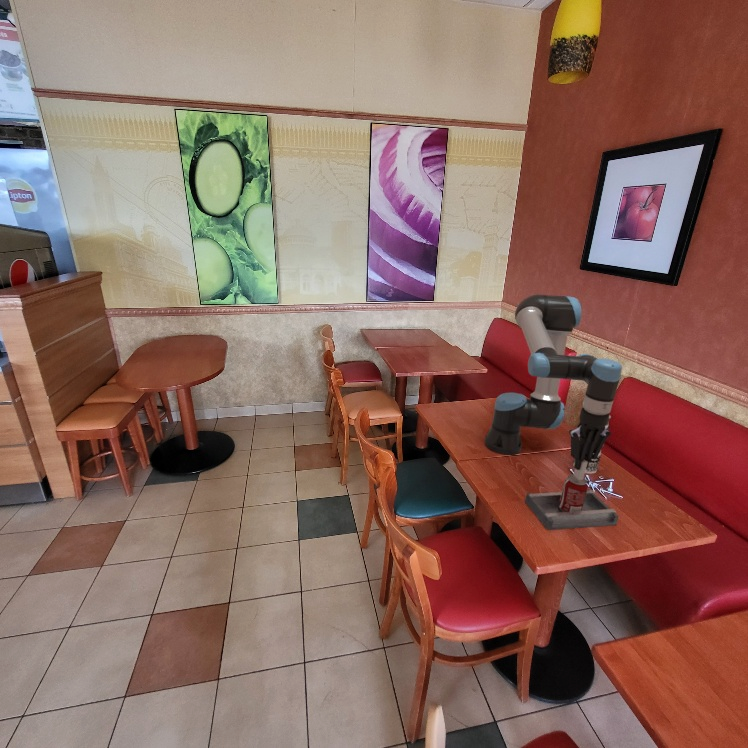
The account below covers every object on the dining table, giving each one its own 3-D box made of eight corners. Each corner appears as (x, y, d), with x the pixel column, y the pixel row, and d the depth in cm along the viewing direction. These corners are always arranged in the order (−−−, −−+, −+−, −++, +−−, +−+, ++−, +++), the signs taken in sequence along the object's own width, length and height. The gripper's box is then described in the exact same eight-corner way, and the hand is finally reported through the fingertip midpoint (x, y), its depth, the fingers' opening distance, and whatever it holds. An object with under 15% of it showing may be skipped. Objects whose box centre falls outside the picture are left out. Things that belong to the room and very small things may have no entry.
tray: (524, 501, 138) (526, 491, 136) (587, 497, 142) (590, 487, 141) (547, 530, 125) (550, 519, 124) (616, 524, 129) (619, 514, 128)
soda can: (583, 518, 129) (591, 487, 125) (561, 515, 130) (568, 483, 126) (577, 505, 136) (585, 475, 132) (556, 502, 137) (563, 471, 133)
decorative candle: (599, 476, 155) (615, 417, 147) (573, 470, 158) (587, 412, 150) (596, 464, 163) (612, 408, 155) (571, 459, 166) (585, 403, 158)
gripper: (584, 416, 116) (566, 485, 124) (624, 415, 119) (604, 483, 126) (568, 405, 123) (552, 471, 131) (606, 404, 125) (588, 469, 133)
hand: (578, 477), depth 129 cm, fingers closed
